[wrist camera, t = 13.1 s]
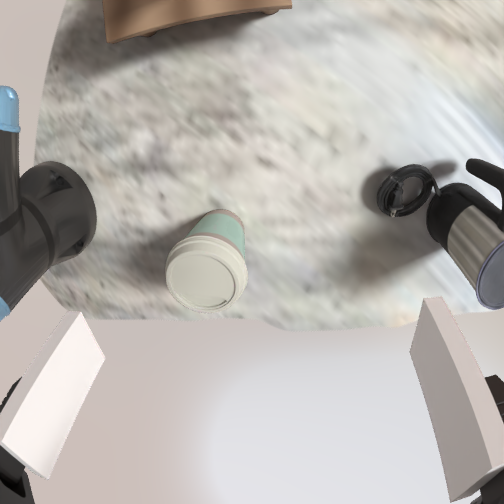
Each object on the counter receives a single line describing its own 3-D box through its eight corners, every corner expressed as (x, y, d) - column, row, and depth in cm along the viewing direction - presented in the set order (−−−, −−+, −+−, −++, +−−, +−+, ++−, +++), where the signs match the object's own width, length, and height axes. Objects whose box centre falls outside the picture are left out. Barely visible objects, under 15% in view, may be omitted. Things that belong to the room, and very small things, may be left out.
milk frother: (480, 235, 38) (534, 295, 26) (386, 264, 42) (419, 340, 29) (474, 141, 32) (546, 177, 19) (367, 167, 36) (411, 217, 23)
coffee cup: (177, 234, 42) (146, 286, 32) (213, 185, 39) (188, 227, 28) (229, 269, 44) (214, 330, 34) (268, 226, 41) (264, 280, 30)
